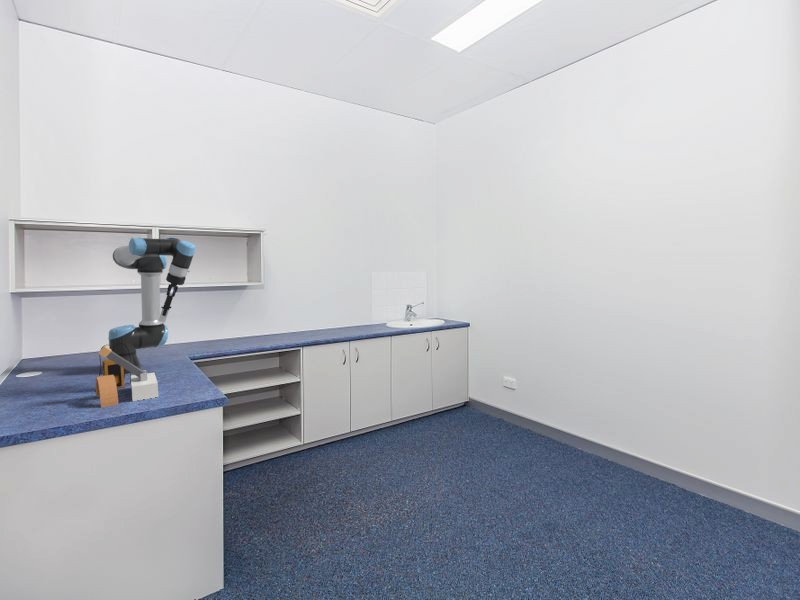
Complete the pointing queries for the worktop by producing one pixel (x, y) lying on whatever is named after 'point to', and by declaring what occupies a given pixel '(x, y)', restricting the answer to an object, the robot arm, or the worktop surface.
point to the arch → (107, 390)
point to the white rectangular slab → (144, 386)
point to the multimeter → (114, 370)
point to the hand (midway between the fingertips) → (161, 321)
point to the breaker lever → (120, 361)
